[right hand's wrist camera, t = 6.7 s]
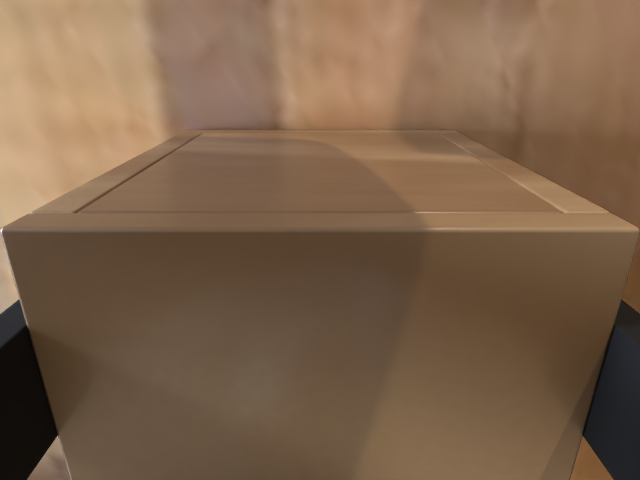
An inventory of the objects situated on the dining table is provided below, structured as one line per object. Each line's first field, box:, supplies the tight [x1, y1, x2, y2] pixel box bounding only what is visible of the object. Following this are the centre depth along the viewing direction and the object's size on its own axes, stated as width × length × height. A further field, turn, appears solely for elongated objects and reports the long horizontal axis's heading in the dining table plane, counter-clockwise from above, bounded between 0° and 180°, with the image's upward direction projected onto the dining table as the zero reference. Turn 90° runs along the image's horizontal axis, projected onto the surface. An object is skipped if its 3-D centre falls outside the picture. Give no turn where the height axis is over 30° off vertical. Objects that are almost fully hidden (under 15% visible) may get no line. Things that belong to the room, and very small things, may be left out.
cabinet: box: [0, 130, 640, 480], centre depth 17 cm, size 20×11×12 cm, turn 0°
